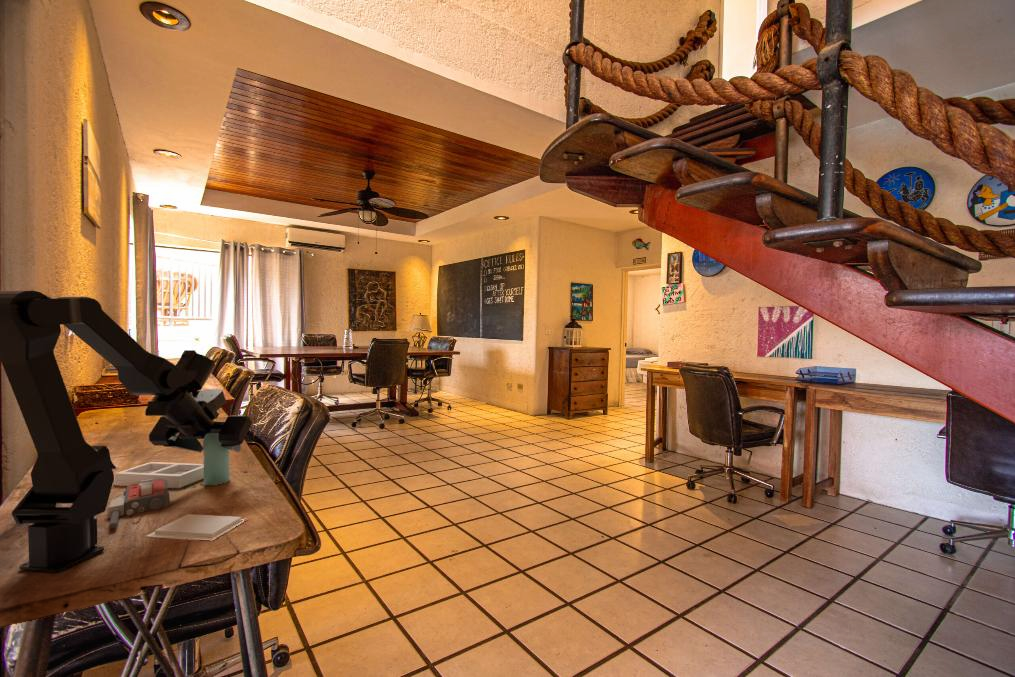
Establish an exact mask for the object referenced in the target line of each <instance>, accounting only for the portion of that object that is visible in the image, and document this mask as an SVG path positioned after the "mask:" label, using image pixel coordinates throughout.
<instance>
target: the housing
mask: <svg viewBox="0 0 1015 677" xmlns="http://www.w3.org/2000/svg"><path fill="white" fill-rule="evenodd" d="M149 479H154V480H155V479H163V480H167V488H168V489H181V488H184V487H186V486H188V485H191V484H193V483H196V482H198V481H200V480H204V468H203V463H188V462H187V463H186V462H185V463H184V462H183V463H182V462H158V461H150V462H147V463H144V464H143V463H142V464H140V465H137V466H134V467H131V468H127V469H125V470H121V471H117V472H115V473H114V482H113V485H112V486H122V487H123V486H124V487H128V486H129V485H131V484H133V483H137V482H140V481H143V480H149Z"/></svg>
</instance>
